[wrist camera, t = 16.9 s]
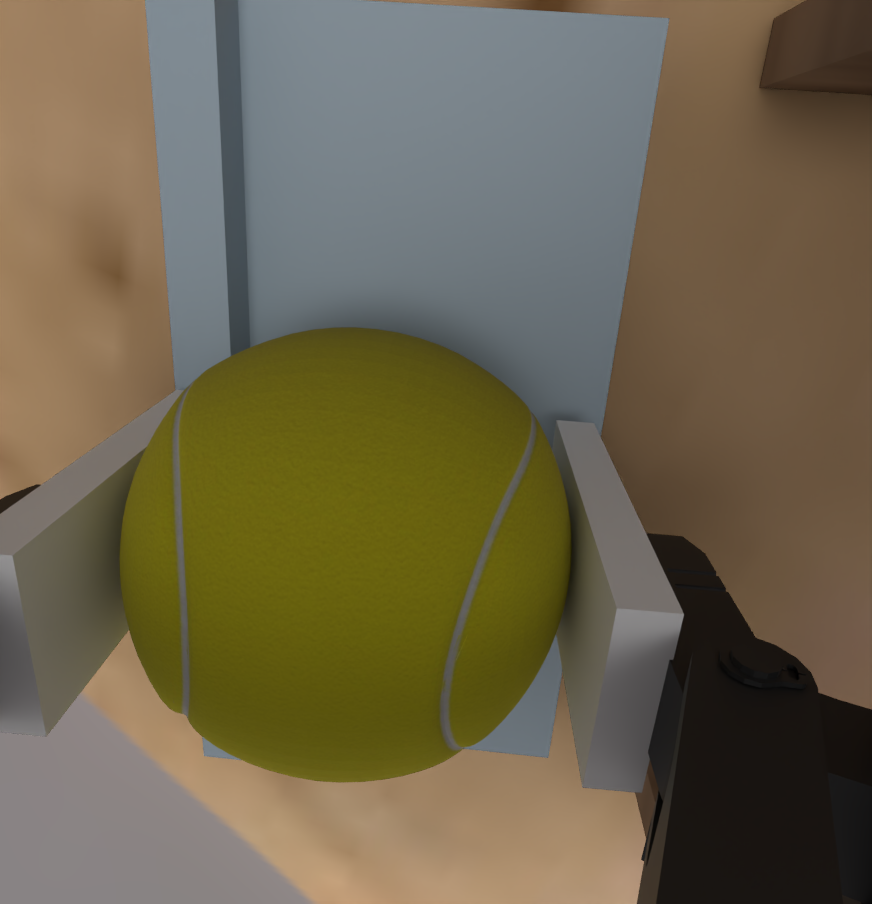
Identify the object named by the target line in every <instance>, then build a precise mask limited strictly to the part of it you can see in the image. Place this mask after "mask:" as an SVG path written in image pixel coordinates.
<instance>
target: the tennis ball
mask: <svg viewBox="0 0 872 904" xmlns="http://www.w3.org/2000/svg"><path fill="white" fill-rule="evenodd" d="M571 556H572V542H571V522H570V515H569V508H568V502H567V497H566V493H565V489H564V485H563V481H562V477H561V474H560V471H559V468H558V465H557V462H556V459H555V457H554V454H553V452H552V449H551V447H550V444H549V442H548V440H547V438H546V436H545V433H544V431H543V429H542V427H541V425H540V423H539V422H538V420H537V418H536V417H535V415H534V414H533V413H532V412H531V411H530V410H529V408H528V406H527V405H526V404H525V403H524V402H523V401H522V399H521V398H520V397H519V396H518V395H517V394H516V393H515V392H513V391H512V390H511V389H510V388H509V387H508V386H506V385H505V384H504V383H503V382H501V381H500V380H499V379H497V378H496V377H495V376H494V375H492V374H491V373H489V372H488V371H486V370H485V369H483V368H482V367H480V366H479V365H477V364H476V363H474V362H472V361H471V360H469V359H467V358H465V357H464V356H462V355H460V354H458V353H456V352H454V351H452V350H450V349H448V348H445V347H443V346H441V345H439V344H436V343H433V342H430V341H427V340H424V339H421V338H418V337H414V336H410V335H406V334H402V333H398V332H392V331H386V330H380V329H371V328H357V327H336V328H324V329H314V330H308V331H303V332H298V333H292V334H289V335H286V336H282V337H279V338H276V339H272V340H269V341H266V342H263V343H261V344H258V345H255V346H253V347H250V348H248V349H245V350H243V351H241V352H239V353H237V354H234V355H232V356H230V357H229V358H227V359H225V360H223V361H221V362H219V363H217V364H216V365H214V366H212V367H211V368H209V369H207V370H206V371H205V372H203V373H202V374H201V375H200V376H199V377H198V378H197V379H195V380H194V381H193V382H192V383H191V384H190V385H189V386H188V387H187V388H186V389H185V390H184V391H183V392H182V393H181V394H180V396H179V397H178V398H177V400H176V401H175V402H174V404H173V405H172V407H171V408H170V409H169V411H168V412H167V414H166V415H165V417H164V418H163V420H162V421H161V423H160V424H159V426H158V428H157V429H156V431H155V433H154V435H153V436H152V438H151V440H150V442H149V444H148V446H147V448H146V450H145V452H144V454H143V456H142V458H141V460H140V463H139V465H138V467H137V469H136V472H135V474H134V477H133V481H132V484H131V487H130V490H129V494H128V497H127V501H126V505H125V510H124V515H123V521H122V530H121V541H120V554H119V558H120V582H121V591H122V599H123V606H124V611H125V615H126V619H127V623H128V627H129V631H130V634H131V637H132V641H133V643H134V646H135V649H136V652H137V654H138V657H139V659H140V661H141V663H142V665H143V668H144V670H145V672H146V674H147V676H148V678H149V680H150V682H151V684H152V685H153V687H154V689H155V690H156V692H157V694H158V695H159V697H160V698H161V700H162V701H163V702H164V703H165V704H166V705H167V706H168V707H169V708H170V709H171V710H173V711H175V712H178V713H181V714H185V715H186V716H187V718H188V720H189V722H190V724H191V725H192V727H193V728H194V729H195V730H196V731H197V732H198V733H199V734H200V735H201V736H202V737H203V738H205V739H206V740H207V741H209V742H210V743H212V744H213V745H214V746H216V747H217V748H219V749H221V750H223V751H225V752H226V753H228V754H230V755H232V756H234V757H236V758H239V759H241V760H243V761H245V762H247V763H250V764H253V765H256V766H258V767H261V768H264V769H267V770H270V771H273V772H277V773H281V774H284V775H288V776H292V777H297V778H303V779H309V780H314V781H325V782H365V781H374V780H383V779H389V778H394V777H399V776H404V775H408V774H412V773H415V772H419V771H422V770H425V769H427V768H430V767H433V766H435V765H437V764H440V763H442V762H444V761H446V760H447V759H449V758H451V757H452V756H454V755H455V754H457V753H458V752H460V751H461V750H462V749H463V748H464V747H470V746H472V745H475V744H477V743H478V742H480V741H481V740H483V739H484V738H485V737H487V736H488V735H489V734H490V733H491V732H492V731H493V730H494V729H495V728H496V727H497V726H498V725H499V724H500V723H501V722H502V721H503V720H504V719H505V718H506V717H507V716H508V715H509V713H510V712H511V711H512V710H513V709H514V707H515V706H516V705H517V704H518V702H519V701H520V700H521V698H522V697H523V696H524V694H525V693H526V691H527V690H528V688H529V687H530V685H531V684H532V682H533V681H534V679H535V677H536V675H537V674H538V672H539V670H540V668H541V667H542V665H543V663H544V661H545V659H546V657H547V655H548V653H549V651H550V648H551V646H552V643H553V640H554V638H555V635H556V633H557V630H558V627H559V624H560V621H561V618H562V614H563V610H564V607H565V603H566V597H567V591H568V585H569V579H570V573H571Z"/></svg>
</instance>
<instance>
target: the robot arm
mask: <svg viewBox="0 0 872 904" xmlns="http://www.w3.org/2000/svg"><path fill="white" fill-rule="evenodd" d="M183 391H184V390H175V391H174V392H173V393H171V394H170V395H168V396H167V397H165V398H164V399H163V400H161V401H160V402H158V403H157V404H156V405H154V406H153V407H151V408H150V409H148V410H147V411H146V412H144V413H143V414H141V415H140V416H138V417H137V418H136V419H134V420H133V421H131V422H130V423H129V424H127V425H126V426H124V427H123V428H121V429H120V430H119V431H117V432H116V433H114V434H113V435H112V436H110V437H109V438H107V439H106V440H104V441H103V442H102V443H100V444H99V445H97V446H96V447H94V448H93V449H92V450H90V451H89V452H87V453H86V454H85V455H83V456H82V457H80V458H79V459H77V460H76V461H75V462H73V463H72V464H70V465H69V466H68V467H66V468H65V469H63V470H62V471H60V472H59V473H58V474H56V475H55V476H53V477H52V478H50V479H49V480H48V481H46V482H45V483H43V484H42V485H34V486H31V487H29V488H26V489H24V490H21V491H18V492H16V493H13V494H11V495H8V496H5V497H4V498H2V499H1V500H0V732H2V733H13V734H24V735H34V736H45V737H46V736H47V735H48V734H49V733H50V731H51V730H52V729H53V727H54V726H55V725H56V724H57V722H58V721H59V720H60V718H61V717H62V715H63V714H64V713H65V712H66V711H67V709H68V708H69V707H70V705H71V704H72V703H73V702H74V700H75V699H76V698H77V696H78V695H79V694H80V692H81V691H82V690H83V689H84V687H85V686H86V685H87V683H88V682H89V681H90V679H91V678H92V677H93V676H94V674H95V673H96V672H97V670H98V669H99V668H100V667H101V665H102V664H103V663H104V661H105V660H106V659H107V657H108V656H109V655H110V654H111V652H112V651H113V650H114V648H115V647H116V646H117V644H118V643H119V642H120V641H121V639H122V638H123V637H124V635H125V634H126V633H127V632H128V630H129V627H128V623H127V619H126V615H125V611H124V606H123V599H122V591H121V582H120V558H119V554H120V541H121V530H122V521H123V515H124V510H125V505H126V501H127V497H128V494H129V490H130V487H131V484H132V481H133V477H134V474H135V472H136V469H137V467H138V465H139V463H140V460H141V458H142V456H143V454H144V452H145V450H146V448H147V446H148V444H149V442H150V440H151V438H152V436H153V435H154V433H155V431H156V429H157V428H158V426H159V424H160V423H161V421H162V420H163V418H164V417H165V415H166V414H167V412H168V411H169V409H170V408H171V407H172V405H173V404H174V402H175V401H176V400H177V398H178V397H179V396H180V394H181V393H182V392H183ZM552 452H553V454H554V457H555V459H556V462H557V465H558V468H559V471H560V474H561V477H562V481H563V485H564V489H565V493H566V497H567V502H568V508H569V515H570V522H571V542H572V556H571V573H570V579H569V585H568V591H567V597H566V603H565V607H564V610H563V614H562V618H561V621H560V624H559V627H558V630H557V633H556V636H557V642H558V647H559V653H560V659H561V665H562V671H563V677H564V683H565V688H566V694H567V700H568V706H569V712H570V718H571V723H572V729H573V735H574V741H575V747H576V753H577V759H578V764H579V770H580V776H581V782H582V787H583V788H593V789H604V790H615V791H625V792H636V793H642V790H643V786H644V782H645V777H646V773H647V769H648V765H649V761H651V765H652V768H653V771H654V775H655V778H656V782H657V785H658V788H659V790H658V794H657V798H656V802H655V806H654V810H653V814H652V818H651V822H650V826H649V830H648V834H647V838H646V843H645V847H644V851H643V855H642V859H641V860H643V861H644V866H643V871H642V877H641V883H640V889H639V895H638V900H637V904H872V710H871V709H868V708H864V707H861V706H857V705H854V704H850V703H847V702H844V701H840V700H837V699H834V698H832V697H829V696H826V695H823V694H820V693H818V687H817V685H816V683H815V680H814V678H813V676H812V674H811V672H810V671H809V670H808V669H807V668H806V667H805V666H804V665H803V664H802V663H801V662H800V661H799V660H798V659H797V658H796V657H794V656H792V655H791V654H789V653H787V652H786V651H784V650H783V649H781V648H779V647H778V646H776V645H773V644H771V643H768V642H765V641H763V640H760V639H757V638H756V637H755V636H754V634H753V632H752V631H751V629H750V627H749V626H748V624H747V623H746V621H745V619H744V618H743V616H742V614H741V613H740V611H739V609H738V608H737V606H736V604H735V603H734V601H733V599H732V598H731V596H730V594H729V593H728V592H726V588H725V586H724V584H723V583H722V581H721V579H720V578H719V576H716V571H715V569H714V568H713V566H712V564H711V563H710V561H709V560H708V558H707V556H706V555H705V553H703V552H702V551H701V550H700V549H698V548H697V547H696V546H694V545H693V544H692V543H690V542H689V541H688V540H686V539H685V538H684V537H682V536H671V535H659V534H647V533H646V532H645V530H644V528H643V526H642V524H641V522H640V520H639V518H638V515H637V513H636V511H635V509H634V507H633V505H632V503H631V501H630V498H629V496H628V494H627V492H626V490H625V488H624V486H623V484H622V481H621V479H620V477H619V475H618V473H617V471H616V469H615V467H614V465H613V462H612V460H611V458H610V456H609V454H608V452H607V450H606V448H605V445H604V443H603V441H602V439H601V437H600V435H599V433H598V431H597V428H596V426H595V424H594V423H587V422H574V421H562V420H556V426H555V433H554V440H553V448H552Z"/></svg>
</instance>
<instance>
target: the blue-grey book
mask: <svg viewBox="0 0 872 904" xmlns="http://www.w3.org/2000/svg"><path fill="white" fill-rule="evenodd" d="M145 6H146V18H147V31H148V44H149V57H150V70H151V83H152V95H153V108H154V121H155V134H156V147H157V160H158V172H159V185H160V198H161V211H162V224H163V237H164V249H165V262H166V275H167V288H168V301H169V314H170V326H171V339H172V352H173V365H174V378H175V390H185V389H186V388H187V387H188V386H189V385H190V384H191V383H192V382H193V381H194V380H195V379H197V378H198V377H199V376H200V375H201V374H202V373H203V372H205V371H206V370H207V369H209V368H211V367H212V366H214V365H216V364H217V363H219V362H221V361H223V360H225V359H227V358H229V357H230V356H232V355H234V354H237V353H239V352H241V351H243V350H245V349H248V348H250V347H253V346H255V345H258V344H261V343H263V342H266V341H269V340H272V339H276V338H279V337H282V336H286V335H289V334H292V333H298V332H303V331H308V330H314V329H324V328H336V327H357V328H371V329H380V330H386V331H392V332H398V333H402V334H406V335H410V336H414V337H418V338H421V339H424V340H427V341H430V342H433V343H436V344H439V345H441V346H443V347H445V348H448V349H450V350H452V351H454V352H456V353H458V354H460V355H462V356H464V357H465V358H467V359H469V360H471V361H472V362H474V363H476V364H477V365H479V366H480V367H482V368H483V369H485V370H486V371H488V372H489V373H491V374H492V375H494V376H495V377H496V378H497V379H499V380H500V381H501V382H503V383H504V384H505V385H506V386H508V387H509V388H510V389H511V390H512V391H513V392H515V393H516V394H517V395H518V396H519V397H520V398H521V399H522V401H523V402H524V403H525V404H526V405H527V406H528V408H529V410H530V411H531V412H532V413H533V414H534V415H535V417H536V418H537V420H538V422H539V423H540V425H541V427H542V429H543V431H544V433H545V436H546V438H547V440H548V442H549V444H550V447H551V449H552V448H553V440H554V433H555V426H556V420H562V421H574V422H587V423H594V424H595V426H596V428H597V431H598V433H599V435H600V437H601V432H602V426H603V420H604V414H605V408H606V402H607V396H608V390H609V383H610V377H611V371H612V365H613V359H614V353H615V347H616V341H617V335H618V329H619V322H620V316H621V310H622V304H623V298H624V292H625V286H626V280H627V274H628V267H629V261H630V255H631V249H632V243H633V237H634V231H635V225H636V219H637V213H638V206H639V200H640V194H641V188H642V182H643V176H644V170H645V164H646V158H647V151H648V145H649V139H650V133H651V127H652V121H653V115H654V109H655V103H656V97H657V90H658V84H659V78H660V72H661V66H662V60H663V54H664V48H665V42H666V36H667V29H668V23H669V18H655V17H638V16H621V15H604V14H587V13H570V12H553V11H535V10H518V9H501V8H484V7H467V6H450V5H433V4H416V3H399V2H381V1H364V0H145ZM561 676H562V665H561V659H560V653H559V647H558V642H557V636H556V635H555V638H554V640H553V643H552V646H551V648H550V651H549V653H548V655H547V657H546V659H545V661H544V663H543V665H542V667H541V668H540V670H539V672H538V674H537V675H536V677H535V679H534V681H533V682H532V684H531V685H530V687H529V688H528V690H527V691H526V693H525V694H524V696H523V697H522V698H521V700H520V701H519V702H518V704H517V705H516V706H515V707H514V709H513V710H512V711H511V712H510V713H509V715H508V716H507V717H506V718H505V719H504V720H503V721H502V722H501V723H500V724H499V725H498V726H497V727H496V728H495V729H494V730H493V731H492V732H491V733H490V734H489V735H488V736H487V737H485V738H484V739H483V740H481V741H480V742H478V743H477V744H475V745H472V746H470V747H464V748H463V749H472V750H481V751H490V752H499V753H509V754H518V755H527V756H536V757H546V758H548V756H549V750H550V744H551V738H552V731H553V725H554V719H555V713H556V707H557V701H558V695H559V689H560V683H561ZM203 750H204V756H209V757H218V758H227V759H236V760H241V759H239V758H236V757H234V756H232V755H230V754H228V753H226V752H225V751H223V750H221V749H219V748H217V747H216V746H214V745H213V744H212V743H210V742H209V741H207V740H206V739H205V738H203Z"/></svg>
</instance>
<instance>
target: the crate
mask: <svg viewBox="0 0 872 904" xmlns="http://www.w3.org/2000/svg"><path fill="white" fill-rule="evenodd" d="M760 88H773V89H788V90H804V91H820V92H836V93H852V94H867V95H872V0H806V1H804V2H802V3H801V4H799V5H797V6H795V7H794V8H792V9H790V10H788V11H786V12H785V13H783V14H781V15H779V16H778V17H776V18H774V23H773V27H772V32H771V37H770V42H769V46H768V51H767V56H766V60H765V65H764V70H763V75H762V79H761V84H760ZM658 790H659V788H658V785H657V782H656V778H655V775H654V771H653V768H652V765H651V761H649V765H648V769H647V773H646V777H645V782H644V786H643V790H642V793H636V792H635V794H636V798H637V802H638V806H639V810H640V815H641V819H642V823H643V827H644V831H645V836H646V838H647V834H648V830H649V826H650V822H651V818H652V814H653V810H654V806H655V802H656V798H657V794H658Z"/></svg>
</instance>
